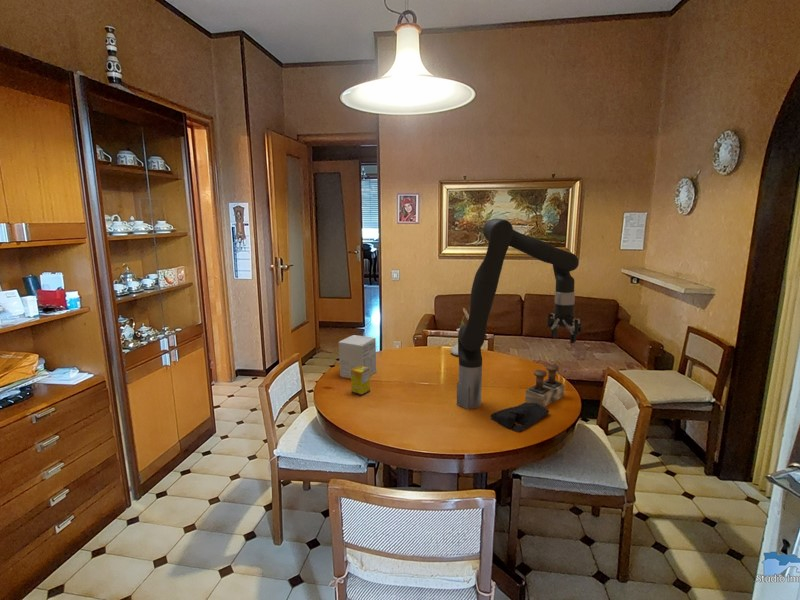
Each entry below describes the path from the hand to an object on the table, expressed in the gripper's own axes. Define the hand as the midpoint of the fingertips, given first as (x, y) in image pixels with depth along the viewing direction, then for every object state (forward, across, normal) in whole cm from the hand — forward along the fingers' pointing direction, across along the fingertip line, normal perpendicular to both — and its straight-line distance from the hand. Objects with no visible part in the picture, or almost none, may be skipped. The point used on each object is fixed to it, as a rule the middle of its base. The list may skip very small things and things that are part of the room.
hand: (563, 340), depth 178 cm
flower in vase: (+24, -65, 0) cm, 70 cm away
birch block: (+24, -2, -8) cm, 26 cm away
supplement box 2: (+21, -52, -68) cm, 89 cm away
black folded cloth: (+24, +3, -29) cm, 38 cm away
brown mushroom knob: (+18, -3, -4) cm, 19 cm away
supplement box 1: (+21, -71, -60) cm, 95 cm away
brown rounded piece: (+18, -2, -12) cm, 22 cm away
